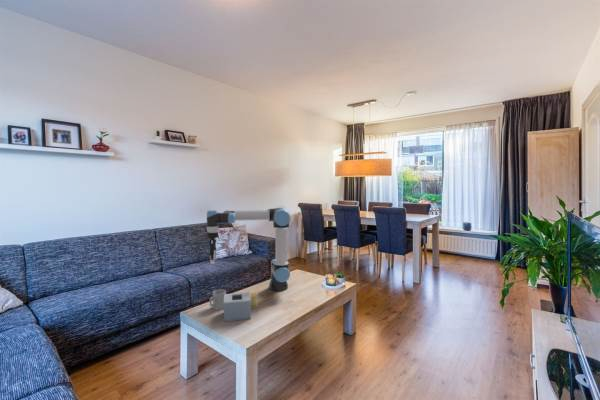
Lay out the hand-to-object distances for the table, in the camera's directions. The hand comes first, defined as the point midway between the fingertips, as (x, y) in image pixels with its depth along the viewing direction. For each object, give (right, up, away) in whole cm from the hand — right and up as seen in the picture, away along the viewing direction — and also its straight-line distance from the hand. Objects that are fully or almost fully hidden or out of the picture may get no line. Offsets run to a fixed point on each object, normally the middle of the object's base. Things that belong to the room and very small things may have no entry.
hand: (213, 261), depth 210 cm
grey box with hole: (+22, -30, -23) cm, 43 cm away
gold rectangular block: (+30, -29, -8) cm, 42 cm away
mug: (+7, -29, -13) cm, 32 cm away
